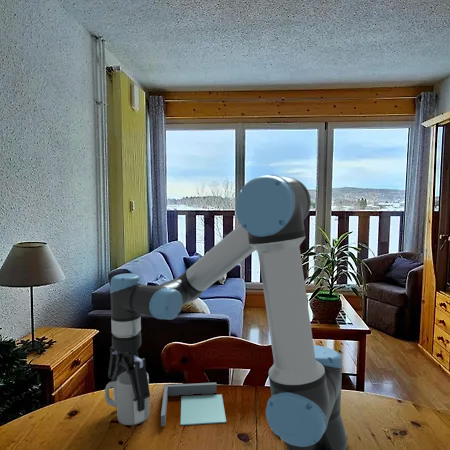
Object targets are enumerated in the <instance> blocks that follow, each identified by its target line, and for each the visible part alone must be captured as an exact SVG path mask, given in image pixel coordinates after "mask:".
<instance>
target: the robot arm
mask: <svg viewBox="0 0 450 450" xmlns="http://www.w3.org/2000/svg"><path fill="white" fill-rule="evenodd" d="M311 204H312V199H311V195H310V192H309V189H307V187H306V185H305V184H304V183H302V182H301V180H298V179H296V178H294V177H291V176H281V175H277V174H266V175H265V174H264V175H261V176H257V177H254V178H253V179H250V180H249V181H247V183H245V184H244V186H242V188H241V190H240V191H239V193H238V194H237V198H236V202H235V216H236V218H237V221H238V223H239V225H237V226H236V227H235V228H234V229H232V230H231V232H229V233H228V234H227V235H226V236H224V237H223V238H222V239H221V240H219V241H218V242H217V243H216V244H215V245H214V246H213V247H212V248H210V250H208V251H206V253H205V254H203V256H201V257H200V258H199V259H198V260H196V261H195V262H194V263H193V264H192V265H191V266H190V267H189V268H187V269H186V270H185V271H184V272H183V273H181V274H180V275H179V276H178V277H176V278H174V279H171V280H169V281H165V282H164V283H161V284H159V285H147V284H143V283H141V277H140V275H138V274H136V273H131V272H130V273H128V272H127V273H120V274H117V275H116V274H115V275H114V276H112V277H111V278H110V287H109V288H110V291H109V294H110V310H111V311H110V313H111V315H110V317H111V318H110V319H111V320H110V322H111V323H110V324H111V334H112V335H111V346H110V347H109V352H110V356H109V365H108V373H107V378H108V379H111V380H110V382H112V381H117V377H118V376H119V375H120V374H122V373H123V372H126V373H127V374H129V376H130V380H131V384H132V387H133V391H134V394H135V398H134V399H133V401H134V423H135V424H136V425H138V424H137V423H138V422H140V421H142V420H144V419H145V415H144V409H145V405H144V404H145V399H146V398H148V397H149V398H150V396H151V394H150V385H149V386H148V380H147V374H146V372H147V368H146V364H147V363H146V361H147V360H146V358H144V357H143V358H140V357H139V353H138V350H139V349H140V348H141V346H142V332H141V330H142V324H141V323H142V322H141V321H142V318H141V315H142V316H146V317H151V318H154V319H157V320H168V321H170V320H174V319H176V318H177V317H178V315H179V314H180V313H181V311H182V309H183V306H185V305H186V304H189V303H191V302H193V301H196V300H197V299H199V298H200V297H201V296H202V295H203V293H204V292H205V291H206V290H207V289H208V288H210V287H211V286H212V285H213V284H215V283H216V282H217V281H218V280H220V279H221V278H222V277H224V276H225V275H226V274H228V272H230V271H231V270H232V269H234V268H235V267H236V266H237V265H238V264H240V263H241V262H242V261H243V260H245V259H246V258H248V257H249V256H250V255H251V254H253V253H254V252H255V251H256V252H257V255H258V261H259V268H260V276H261V282H262V288H263V296H264V301H265V302H264V304H265V310H266V315H267V323H268V329H269V337H270V338H269V339H270V343H271V345H270V346H271V350H272V356H273V357H272V358H273V364H272V366H271V367H270V368H269V370H268V379H269V386H270V387H269V388H270V394H271V395H270V397H269V399H268V400H267V403H266V407H265V417H266V420H267V424H268V425H269V427H270V429H271V430H272V432H273V433H274V434H275V435H276V436H278V437H279V438H280V439H281V440H282V441H283V442H284V444H285V446H286V447H287V448H288V449H289V450H347V448H348V437H347V436H348V435H347V432H346V428H345V425H344V421H343V418H342V415H341V404H342V378H343V377H342V376H343V374H342V373H343V368H344V366H343V357H342V356H341V354H340V353H339V352H338V351H336V350H334V349H332V348H329V347H326V346H323V345H316V344H314V340H313V339H314V338H313V332H312V324H311V319H310V311H309V304H308V298H307V290H306V284H305V277H304V269H303V263H302V257H301V248H300V247H301V244H302V243H303V242H304V240H305V239H306V232H305V224H304V220H305V219H306V218H307V217H308V215H309V212H310V210H311V206H312V205H311ZM112 392H113V399H112V400H117V390H116V388H114V387H112ZM113 408H117V407H116V406H113Z"/></svg>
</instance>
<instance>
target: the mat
mask: <svg viewBox="0 0 450 450" xmlns="http://www.w3.org/2000/svg"><path fill="white" fill-rule="evenodd" d="M180 397H181V398H180V400H181V401H180V426H191V425H209V424H212V425H213V424H225V423H227V418H226V411H225V406H224V398H223V394H221V393H220V394H202V395H183V396H180Z"/></svg>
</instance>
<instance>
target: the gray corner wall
mask: <svg viewBox="0 0 450 450" xmlns="http://www.w3.org/2000/svg"><path fill="white" fill-rule="evenodd" d="M217 392H218V391H217V382H200V383H197V382H196V383H182V384H181V383H179V384H177V383H175V384H164V387H163V394H162V404H161V411H160V427H165V426H166V419H167V412H168V411H167V409H168V408H167V407H168V400H169V399H168V397H179V395H183V396H194V395H193V394H202V395H215V394H214V393H217Z"/></svg>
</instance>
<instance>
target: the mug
mask: <svg viewBox="0 0 450 450" xmlns="http://www.w3.org/2000/svg"><path fill="white" fill-rule="evenodd" d="M146 374H147V380H148V386H149V387H150V377H149V373H148V372H147V371H146ZM113 387H114V388H116V390H117V400H114V399H112V398H111V397H110V389H111V388H113ZM134 398H135V394H134V391H133V387H132V384H131V380H130V376H129V374H127V373H126V371H124V372H123V373H122V374H120V375H119V376H118V377H117V381H109V382H108V383H107V384H106V386H105V388H104V399H105V402H106V404H107V405H108V406H111V407H114V406H116V407H115V408H116V417H117V420H118V422H119V423H120V424H121V425H125V426H135V425H139V424H142V423H143V422H145V421H146V420H148V419H149V416H150V412H151V411H150V397H148V398H146V399H145V404H144V405H145V409H144V415H145V419H144V420H142V421H140V422H138V423H137V424H135V423H134V401H133V399H134Z"/></svg>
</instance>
